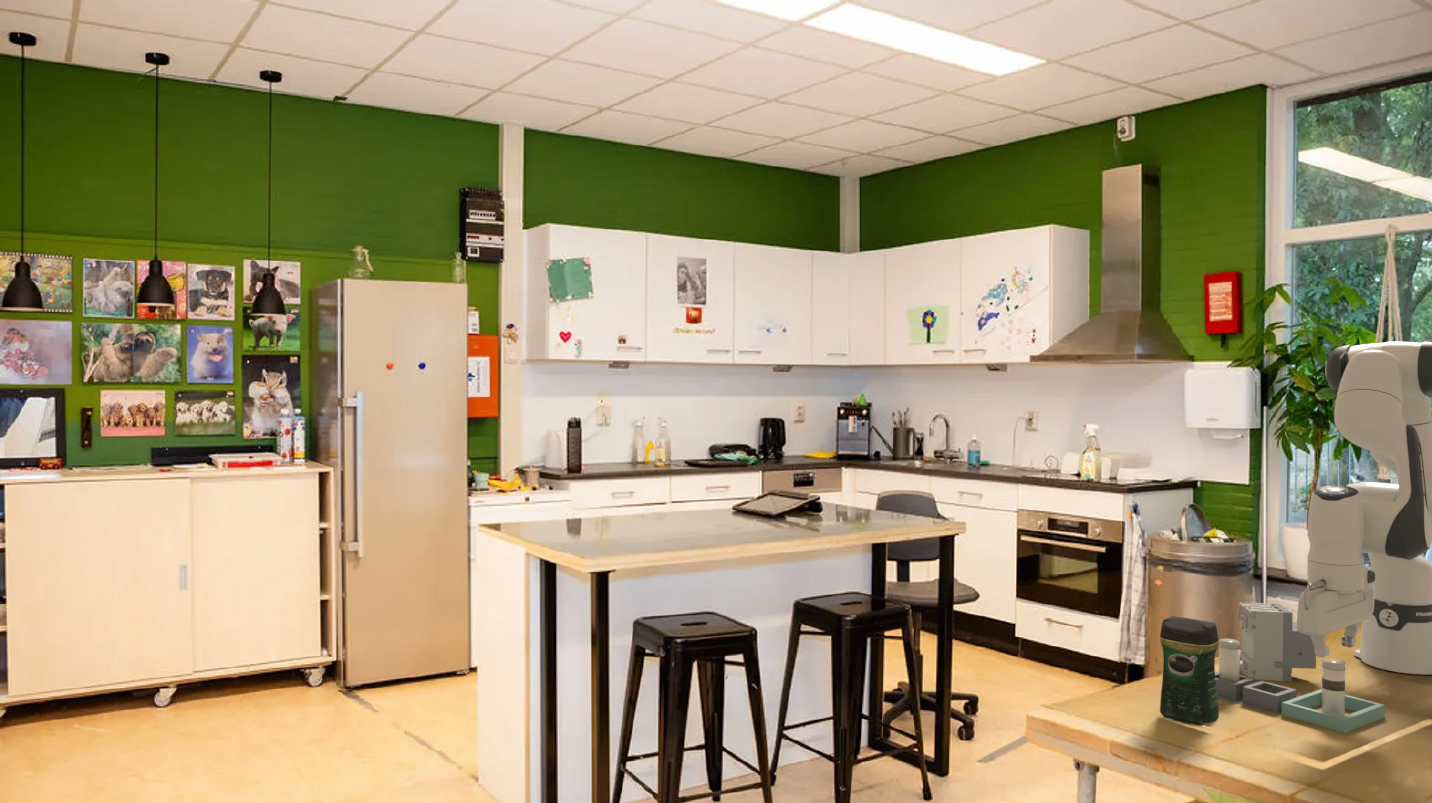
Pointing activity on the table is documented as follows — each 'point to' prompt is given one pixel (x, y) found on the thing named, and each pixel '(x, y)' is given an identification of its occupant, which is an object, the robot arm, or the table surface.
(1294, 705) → the parts tray
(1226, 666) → the cylinder
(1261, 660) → the circuit breaker
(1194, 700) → the coffee jar
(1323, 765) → the table surface
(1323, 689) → the cylinder
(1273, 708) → the block
